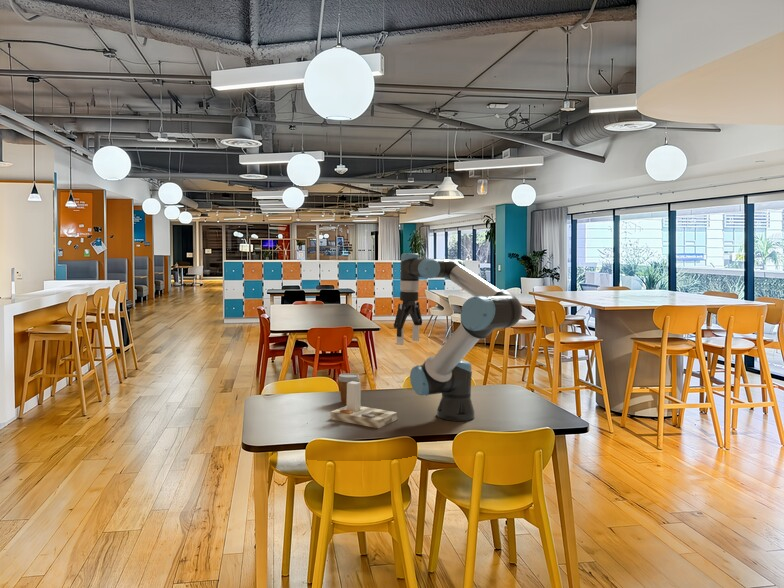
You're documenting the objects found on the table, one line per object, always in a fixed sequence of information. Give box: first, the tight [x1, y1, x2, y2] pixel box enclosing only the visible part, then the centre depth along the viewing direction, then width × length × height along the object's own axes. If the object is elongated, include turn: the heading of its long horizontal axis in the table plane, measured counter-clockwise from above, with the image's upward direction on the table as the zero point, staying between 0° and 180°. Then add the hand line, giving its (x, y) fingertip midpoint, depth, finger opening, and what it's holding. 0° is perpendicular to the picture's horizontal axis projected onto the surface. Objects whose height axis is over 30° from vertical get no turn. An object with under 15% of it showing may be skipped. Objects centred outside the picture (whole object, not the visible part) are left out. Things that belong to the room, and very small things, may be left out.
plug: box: [345, 381, 362, 413], centre depth 245 cm, size 4×4×14 cm
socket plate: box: [330, 405, 398, 429], centre depth 242 cm, size 22×14×4 cm, turn 60°
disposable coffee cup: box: [337, 372, 361, 405], centre depth 269 cm, size 10×10×12 cm
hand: (407, 342), depth 254 cm, fingers open, 13 cm apart
